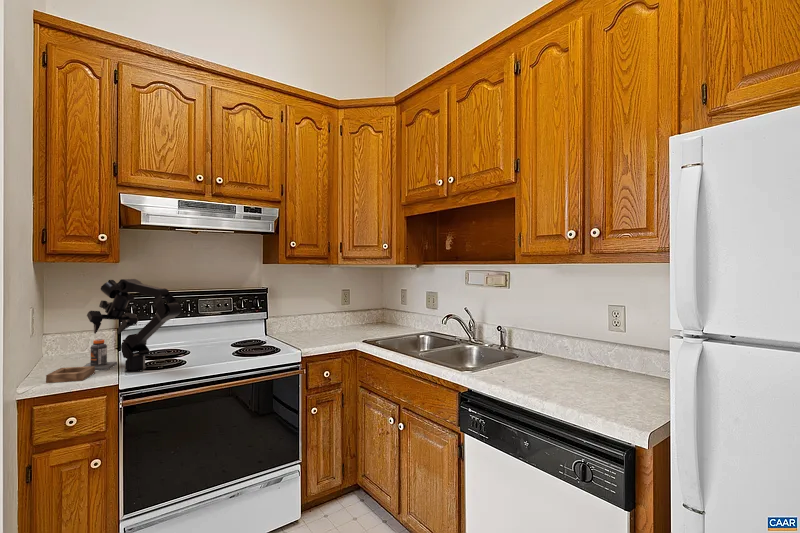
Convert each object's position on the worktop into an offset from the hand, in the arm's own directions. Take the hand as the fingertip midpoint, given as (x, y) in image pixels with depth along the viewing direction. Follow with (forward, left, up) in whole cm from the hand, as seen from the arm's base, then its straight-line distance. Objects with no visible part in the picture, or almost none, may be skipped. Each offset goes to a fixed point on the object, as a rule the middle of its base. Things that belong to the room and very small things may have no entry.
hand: (106, 333), depth 185 cm
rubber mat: (+3, +1, -15) cm, 15 cm away
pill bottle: (+2, +1, -14) cm, 14 cm away
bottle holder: (+7, +17, -15) cm, 24 cm away
